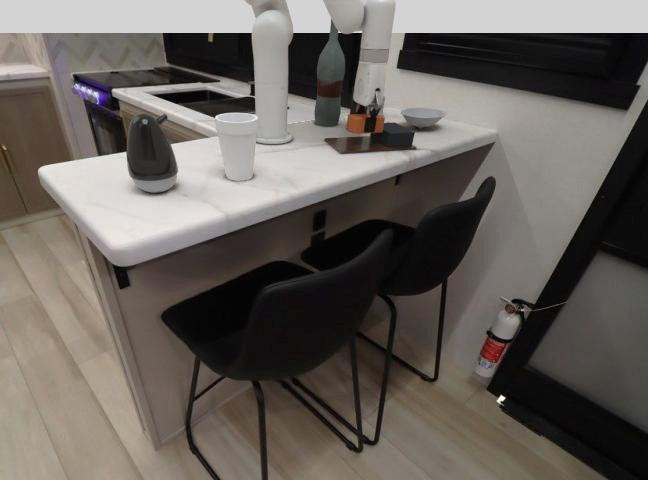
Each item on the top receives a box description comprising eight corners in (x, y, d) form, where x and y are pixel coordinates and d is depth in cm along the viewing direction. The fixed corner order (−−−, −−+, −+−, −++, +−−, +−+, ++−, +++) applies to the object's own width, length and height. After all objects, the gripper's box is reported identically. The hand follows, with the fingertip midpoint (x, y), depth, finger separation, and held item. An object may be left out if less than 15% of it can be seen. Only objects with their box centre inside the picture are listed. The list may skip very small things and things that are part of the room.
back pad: (387, 147, 111) (390, 133, 108) (370, 136, 120) (372, 123, 117) (411, 146, 112) (415, 132, 110) (392, 135, 121) (395, 122, 119)
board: (341, 153, 107) (341, 151, 106) (324, 140, 117) (324, 138, 117) (416, 149, 112) (416, 147, 112) (393, 136, 123) (394, 134, 122)
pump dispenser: (190, 188, 84) (180, 113, 75) (149, 201, 78) (132, 122, 68) (164, 176, 89) (152, 105, 80) (123, 188, 83) (105, 112, 74)
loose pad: (354, 134, 108) (356, 119, 106) (346, 129, 113) (347, 114, 110) (382, 132, 110) (385, 117, 108) (373, 127, 115) (375, 113, 112)
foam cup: (222, 184, 86) (217, 123, 78) (217, 170, 93) (212, 113, 85) (263, 181, 88) (262, 121, 80) (254, 168, 95) (253, 112, 87)
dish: (425, 136, 124) (429, 119, 121) (388, 127, 132) (391, 112, 129) (450, 127, 134) (454, 112, 131) (414, 120, 142) (417, 105, 139)
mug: (375, 113, 150) (378, 94, 146) (385, 116, 145) (388, 97, 141) (354, 114, 147) (356, 95, 142) (363, 118, 142) (365, 98, 138)
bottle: (308, 122, 135) (313, 17, 116) (327, 119, 139) (335, 18, 121) (325, 128, 129) (334, 19, 110) (345, 125, 133) (356, 19, 115)
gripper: (348, 53, 106) (341, 122, 117) (375, 60, 93) (365, 137, 104) (372, 53, 108) (363, 121, 119) (402, 60, 95) (389, 136, 106)
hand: (364, 128), depth 111 cm, fingers closed on loose pad, 6 cm apart
